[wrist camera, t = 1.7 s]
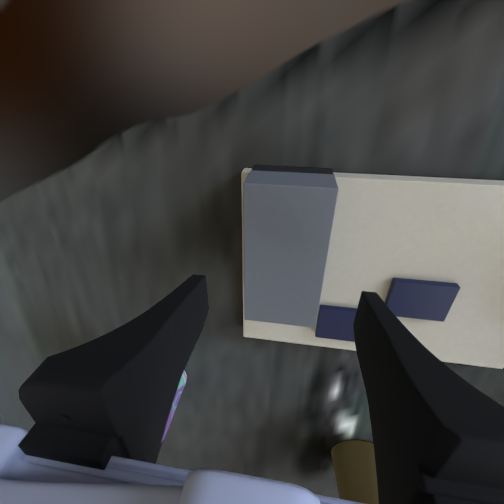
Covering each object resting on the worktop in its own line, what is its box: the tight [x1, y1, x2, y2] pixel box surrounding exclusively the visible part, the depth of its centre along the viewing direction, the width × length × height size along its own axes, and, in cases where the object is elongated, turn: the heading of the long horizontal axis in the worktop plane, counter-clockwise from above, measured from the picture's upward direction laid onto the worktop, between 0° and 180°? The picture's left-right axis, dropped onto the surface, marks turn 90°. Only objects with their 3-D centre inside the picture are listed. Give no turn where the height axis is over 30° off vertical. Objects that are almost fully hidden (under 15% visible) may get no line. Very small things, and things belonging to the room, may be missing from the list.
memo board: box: [241, 168, 504, 369], centre depth 20 cm, size 20×14×1 cm
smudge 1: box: [385, 277, 460, 322], centre depth 20 cm, size 4×3×1 cm
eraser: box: [243, 165, 339, 328], centre depth 17 cm, size 9×4×4 cm, turn 0°
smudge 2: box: [315, 305, 357, 342], centre depth 22 cm, size 4×3×1 cm
